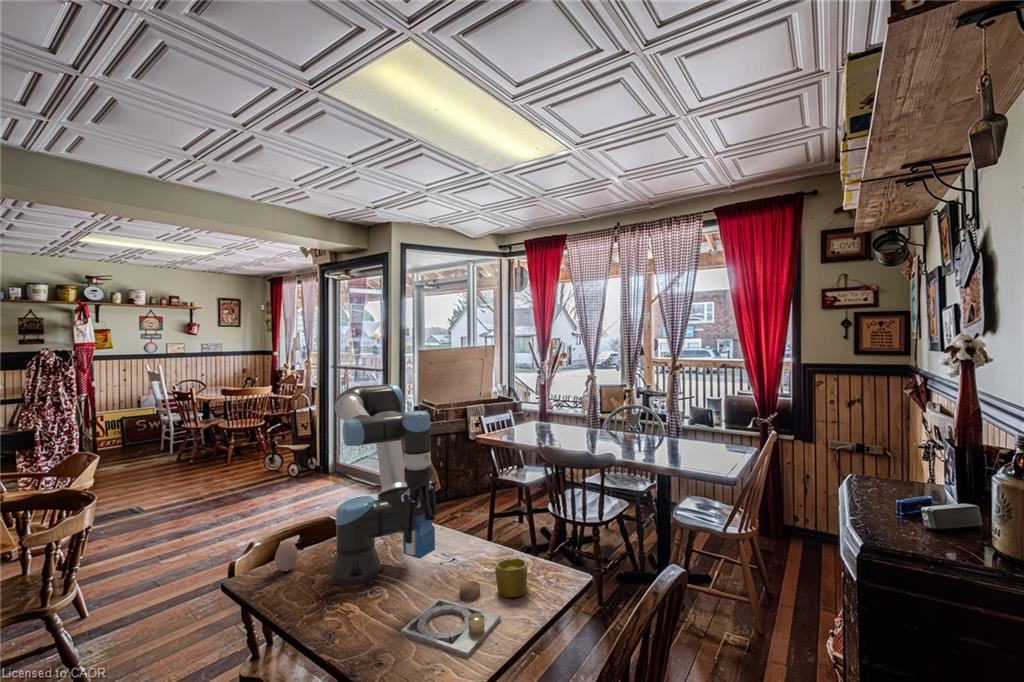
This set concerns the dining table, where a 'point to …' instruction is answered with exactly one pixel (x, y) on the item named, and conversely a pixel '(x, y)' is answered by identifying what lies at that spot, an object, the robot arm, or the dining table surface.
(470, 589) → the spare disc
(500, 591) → the mug
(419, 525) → the perfume bottle
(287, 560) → the egg
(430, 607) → the plate
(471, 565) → the dining table surface
